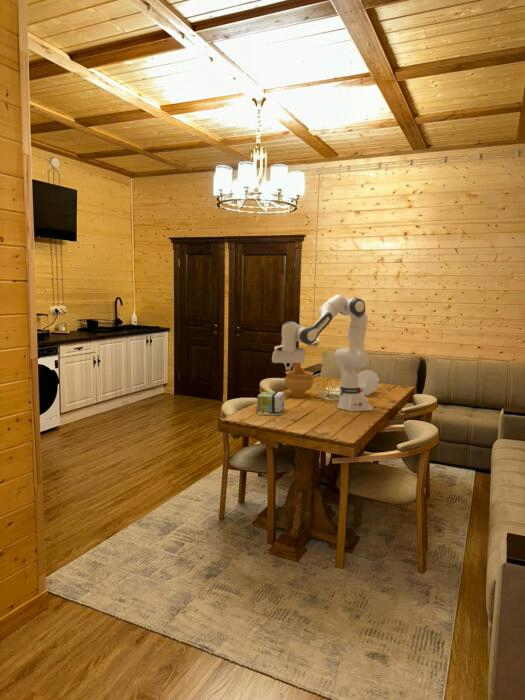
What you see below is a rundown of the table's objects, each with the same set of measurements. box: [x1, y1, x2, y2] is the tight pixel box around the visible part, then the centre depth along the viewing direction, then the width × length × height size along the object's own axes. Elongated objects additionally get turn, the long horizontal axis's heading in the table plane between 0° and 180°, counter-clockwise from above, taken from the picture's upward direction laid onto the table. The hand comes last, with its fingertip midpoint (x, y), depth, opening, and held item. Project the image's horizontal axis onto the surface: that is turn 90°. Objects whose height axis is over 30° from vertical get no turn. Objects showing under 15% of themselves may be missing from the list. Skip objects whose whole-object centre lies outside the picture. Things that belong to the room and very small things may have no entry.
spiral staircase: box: [357, 369, 381, 396], centre depth 362 cm, size 18×18×25 cm
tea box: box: [256, 391, 285, 412], centre depth 302 cm, size 15×10×15 cm
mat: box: [255, 406, 284, 416], centre depth 299 cm, size 15×20×1 cm
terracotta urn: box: [284, 363, 315, 398], centre depth 346 cm, size 21×21×30 cm
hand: (288, 369), depth 297 cm, fingers closed
